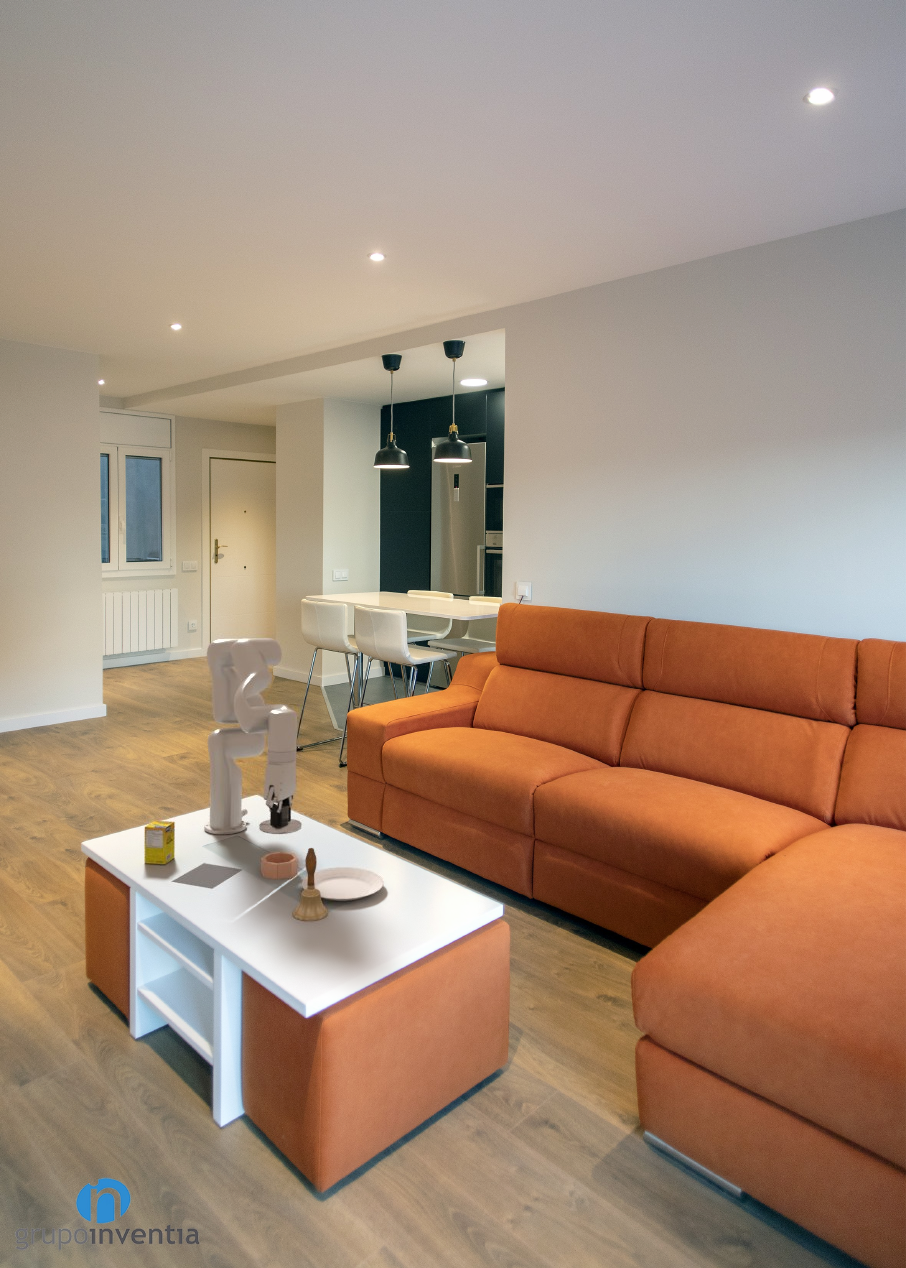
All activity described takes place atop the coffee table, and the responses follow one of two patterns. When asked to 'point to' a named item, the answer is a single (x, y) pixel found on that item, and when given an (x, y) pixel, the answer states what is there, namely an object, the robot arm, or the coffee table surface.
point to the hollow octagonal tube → (279, 865)
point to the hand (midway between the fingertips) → (280, 823)
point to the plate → (345, 883)
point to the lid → (286, 826)
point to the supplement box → (159, 842)
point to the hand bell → (310, 895)
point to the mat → (207, 875)
